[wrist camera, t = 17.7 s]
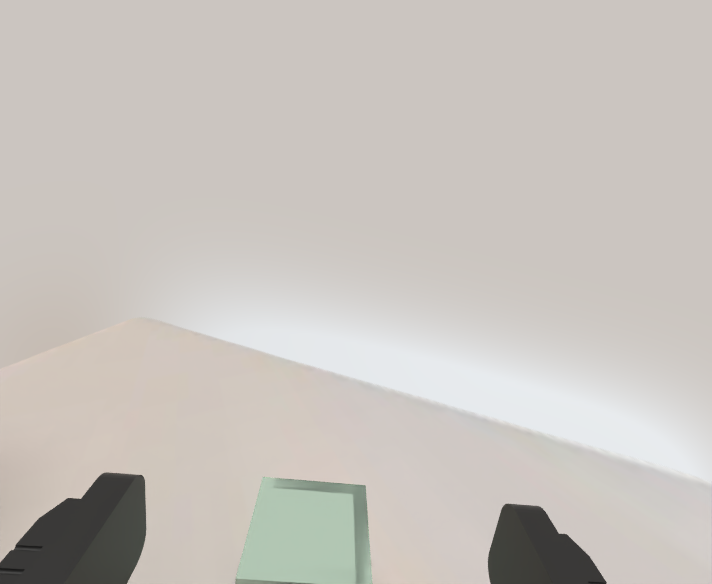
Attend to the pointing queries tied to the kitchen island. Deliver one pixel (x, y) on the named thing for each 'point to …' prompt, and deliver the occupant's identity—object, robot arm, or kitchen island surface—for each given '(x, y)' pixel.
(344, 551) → the tall sage green box
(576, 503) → the kitchen island surface
